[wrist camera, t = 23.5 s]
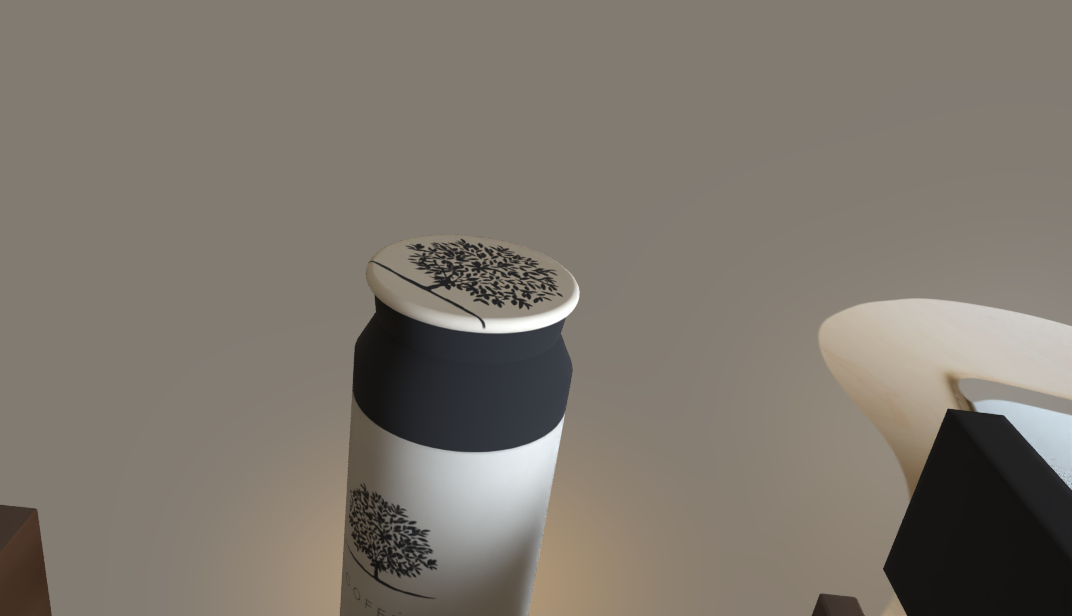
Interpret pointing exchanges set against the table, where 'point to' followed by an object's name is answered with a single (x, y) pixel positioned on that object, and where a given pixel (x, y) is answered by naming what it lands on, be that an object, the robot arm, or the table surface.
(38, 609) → the rack
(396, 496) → the travel mug
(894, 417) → the table surface
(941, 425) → the robot arm
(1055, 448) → the table surface
